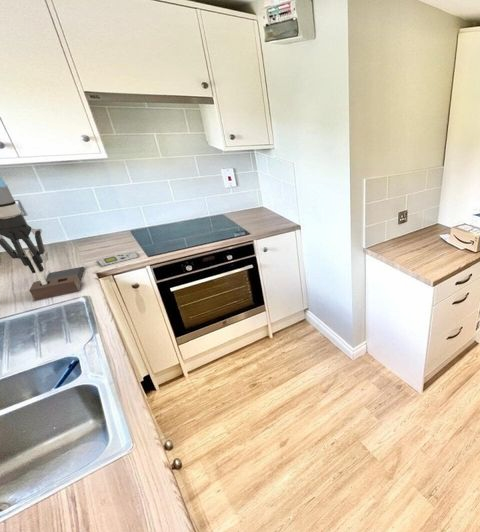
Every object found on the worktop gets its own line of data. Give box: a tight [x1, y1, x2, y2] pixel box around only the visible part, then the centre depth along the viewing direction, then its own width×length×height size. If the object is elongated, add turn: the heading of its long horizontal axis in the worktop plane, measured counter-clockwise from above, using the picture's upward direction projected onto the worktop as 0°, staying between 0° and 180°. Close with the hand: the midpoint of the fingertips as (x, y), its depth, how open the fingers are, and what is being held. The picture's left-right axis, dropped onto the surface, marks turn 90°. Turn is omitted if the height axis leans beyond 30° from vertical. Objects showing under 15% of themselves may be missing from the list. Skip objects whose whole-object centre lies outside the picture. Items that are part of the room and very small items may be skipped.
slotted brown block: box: [28, 274, 82, 301], centre depth 136 cm, size 8×13×5 cm, turn 126°
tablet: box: [45, 266, 85, 281], centre depth 147 cm, size 12×16×1 cm
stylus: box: [23, 248, 47, 285], centre depth 130 cm, size 2×2×16 cm
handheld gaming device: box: [97, 251, 139, 267], centre depth 166 cm, size 9×1×15 cm
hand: (38, 271), depth 131 cm, fingers closed on stylus, 1 cm apart
